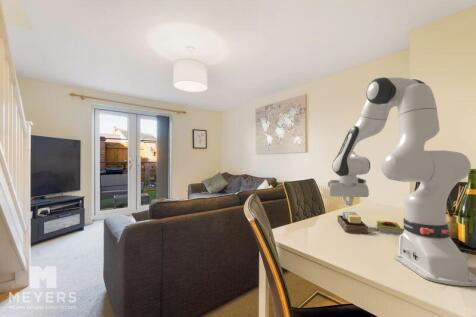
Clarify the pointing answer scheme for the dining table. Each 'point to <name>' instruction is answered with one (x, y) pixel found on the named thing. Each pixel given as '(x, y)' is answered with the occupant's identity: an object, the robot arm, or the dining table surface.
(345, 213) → the white block
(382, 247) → the dining table surface
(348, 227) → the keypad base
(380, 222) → the emergency button
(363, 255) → the dining table surface
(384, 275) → the dining table surface
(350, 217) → the yellow block
